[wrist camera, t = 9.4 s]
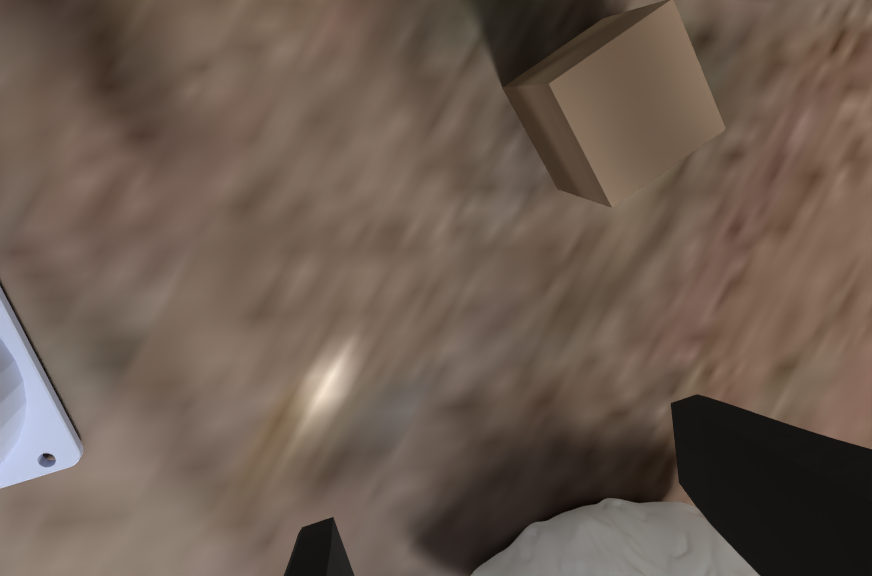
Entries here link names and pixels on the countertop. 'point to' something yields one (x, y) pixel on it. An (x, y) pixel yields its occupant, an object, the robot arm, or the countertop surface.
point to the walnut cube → (617, 104)
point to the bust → (620, 544)
